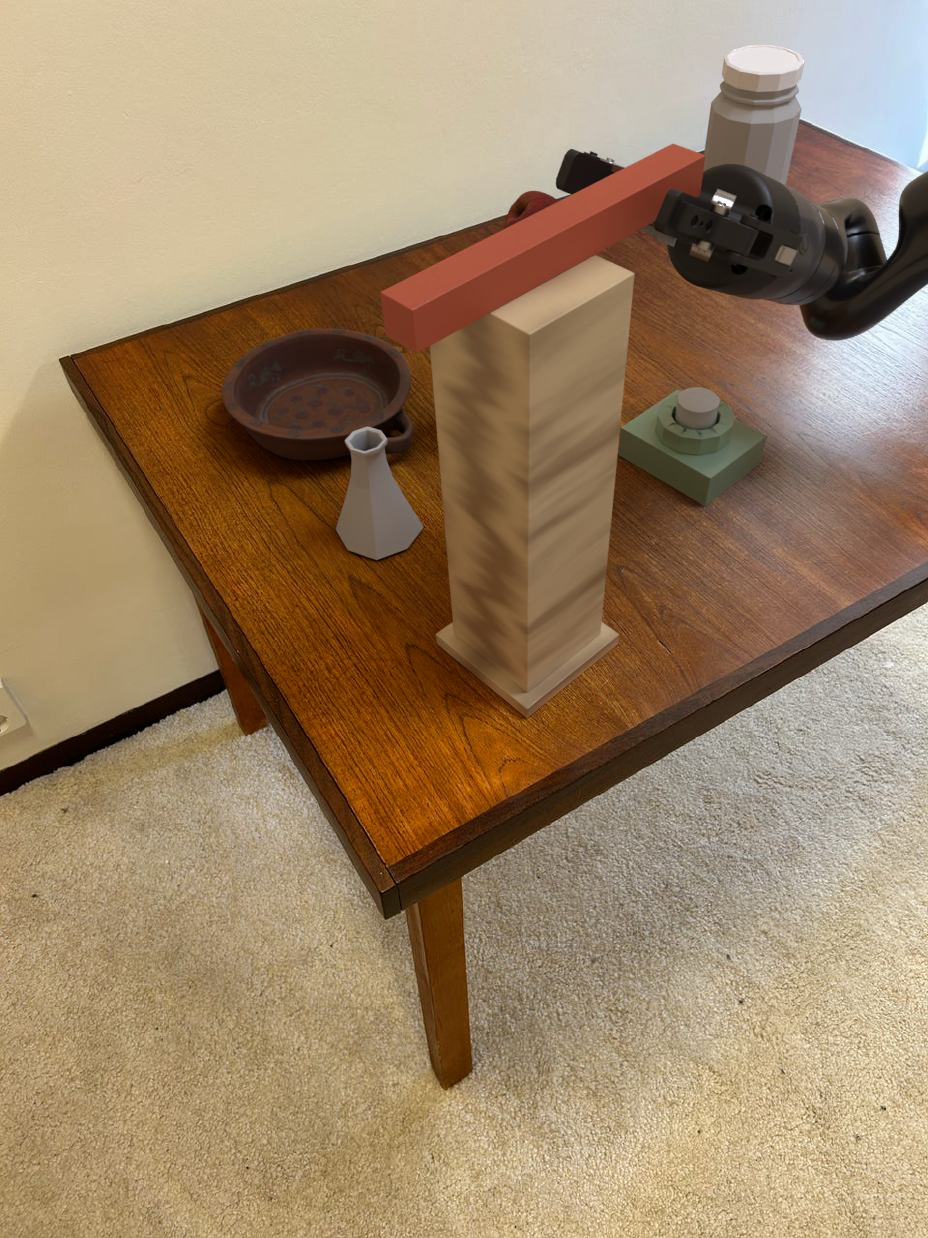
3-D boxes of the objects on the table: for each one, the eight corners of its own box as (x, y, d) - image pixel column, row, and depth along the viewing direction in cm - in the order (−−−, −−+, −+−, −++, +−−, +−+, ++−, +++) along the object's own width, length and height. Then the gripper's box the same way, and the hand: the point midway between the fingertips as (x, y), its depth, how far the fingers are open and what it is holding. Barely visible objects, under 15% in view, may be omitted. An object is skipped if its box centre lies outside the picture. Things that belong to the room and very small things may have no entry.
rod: (700, 196, 56) (706, 154, 54) (416, 354, 47) (411, 310, 45) (668, 183, 58) (672, 142, 56) (384, 335, 48) (379, 291, 46)
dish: (346, 514, 85) (338, 471, 82) (181, 427, 95) (167, 384, 91) (467, 414, 94) (464, 371, 90) (305, 343, 104) (296, 301, 100)
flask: (383, 491, 87) (370, 400, 80) (438, 529, 84) (430, 437, 76) (321, 532, 84) (301, 441, 77) (375, 573, 81) (360, 482, 73)
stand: (618, 644, 74) (662, 271, 51) (527, 718, 70) (529, 350, 47) (526, 577, 79) (528, 211, 56) (436, 643, 75) (397, 277, 52)
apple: (504, 245, 115) (503, 178, 109) (570, 244, 115) (572, 177, 109) (504, 278, 110) (503, 210, 104) (572, 276, 110) (575, 208, 104)
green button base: (760, 463, 87) (771, 418, 84) (705, 506, 84) (713, 461, 80) (673, 416, 92) (680, 372, 89) (618, 455, 89) (622, 410, 85)
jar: (678, 221, 117) (698, 59, 104) (727, 193, 121) (754, 34, 108) (744, 249, 112) (775, 83, 99) (794, 219, 116) (830, 55, 103)
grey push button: (724, 418, 85) (728, 398, 83) (698, 436, 83) (702, 417, 82) (692, 400, 86) (695, 381, 85) (666, 418, 85) (668, 399, 83)
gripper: (812, 332, 63) (688, 305, 50) (642, 256, 70) (497, 216, 58) (872, 214, 59) (754, 154, 47) (686, 147, 67) (543, 80, 54)
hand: (613, 188), depth 52 cm, fingers open, 6 cm apart
